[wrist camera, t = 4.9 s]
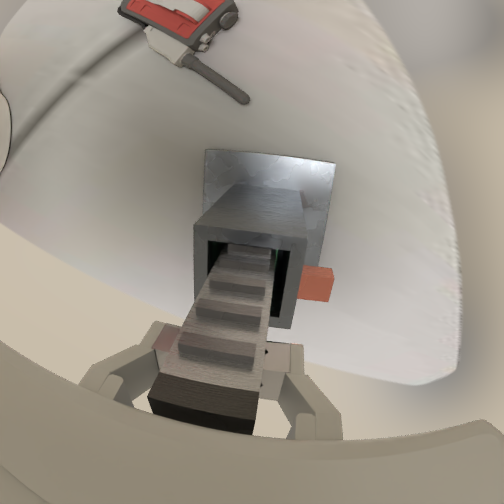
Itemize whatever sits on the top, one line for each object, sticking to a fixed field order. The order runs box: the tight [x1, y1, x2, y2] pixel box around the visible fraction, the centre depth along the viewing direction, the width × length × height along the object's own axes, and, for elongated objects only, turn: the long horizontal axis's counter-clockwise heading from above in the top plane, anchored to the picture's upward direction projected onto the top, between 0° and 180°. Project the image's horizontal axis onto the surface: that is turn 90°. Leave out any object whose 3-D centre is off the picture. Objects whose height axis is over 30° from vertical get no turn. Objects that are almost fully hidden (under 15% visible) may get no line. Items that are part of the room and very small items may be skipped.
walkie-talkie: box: [117, 0, 250, 104], centre depth 18 cm, size 9×4×20 cm
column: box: [147, 243, 278, 435], centre depth 16 cm, size 3×4×20 cm
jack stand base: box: [194, 149, 336, 329], centre depth 21 cm, size 12×12×13 cm
